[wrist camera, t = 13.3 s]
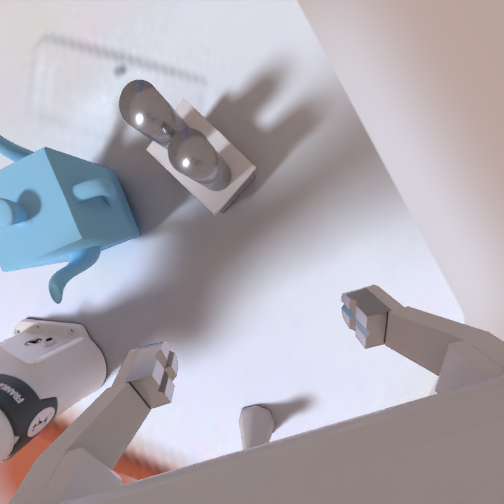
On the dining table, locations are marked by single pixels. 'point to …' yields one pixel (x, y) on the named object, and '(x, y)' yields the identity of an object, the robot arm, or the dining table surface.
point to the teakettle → (59, 212)
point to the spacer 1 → (150, 112)
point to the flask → (255, 426)
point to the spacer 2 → (198, 159)
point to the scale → (233, 158)
